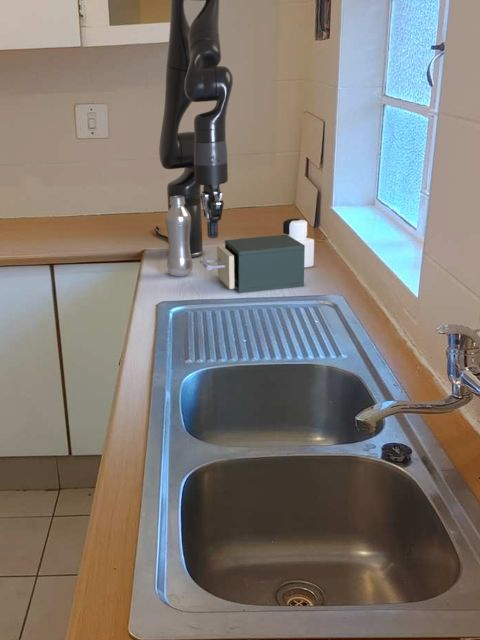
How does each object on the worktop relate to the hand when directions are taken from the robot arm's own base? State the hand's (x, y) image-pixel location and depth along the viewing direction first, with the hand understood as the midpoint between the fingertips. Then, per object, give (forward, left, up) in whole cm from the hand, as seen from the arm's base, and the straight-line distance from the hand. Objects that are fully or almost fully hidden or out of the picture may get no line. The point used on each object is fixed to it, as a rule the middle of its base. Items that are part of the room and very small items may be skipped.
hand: (212, 237), depth 177 cm
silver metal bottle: (-14, -6, -12) cm, 20 cm away
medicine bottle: (-12, +24, -12) cm, 30 cm away
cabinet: (0, +12, -12) cm, 17 cm away
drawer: (0, +7, -11) cm, 13 cm away
